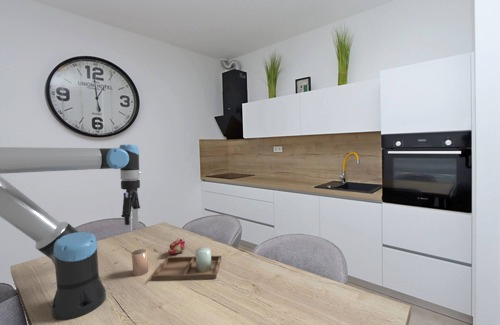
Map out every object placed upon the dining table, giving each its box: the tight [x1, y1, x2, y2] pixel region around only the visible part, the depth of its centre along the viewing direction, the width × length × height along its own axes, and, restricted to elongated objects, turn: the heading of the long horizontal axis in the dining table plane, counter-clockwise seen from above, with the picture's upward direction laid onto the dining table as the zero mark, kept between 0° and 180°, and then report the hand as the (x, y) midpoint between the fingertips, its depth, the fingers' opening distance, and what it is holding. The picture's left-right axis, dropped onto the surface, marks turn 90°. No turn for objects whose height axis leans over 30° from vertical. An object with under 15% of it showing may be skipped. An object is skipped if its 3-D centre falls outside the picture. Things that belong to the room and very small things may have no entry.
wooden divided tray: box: [151, 255, 222, 282], centre depth 103 cm, size 17×25×2 cm
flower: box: [167, 238, 186, 255], centre depth 120 cm, size 10×9×8 cm
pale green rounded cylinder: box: [195, 246, 212, 272], centre depth 103 cm, size 6×6×8 cm
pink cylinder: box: [131, 248, 149, 277], centre depth 103 cm, size 6×6×9 cm
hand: (132, 227), depth 107 cm, fingers open, 13 cm apart
